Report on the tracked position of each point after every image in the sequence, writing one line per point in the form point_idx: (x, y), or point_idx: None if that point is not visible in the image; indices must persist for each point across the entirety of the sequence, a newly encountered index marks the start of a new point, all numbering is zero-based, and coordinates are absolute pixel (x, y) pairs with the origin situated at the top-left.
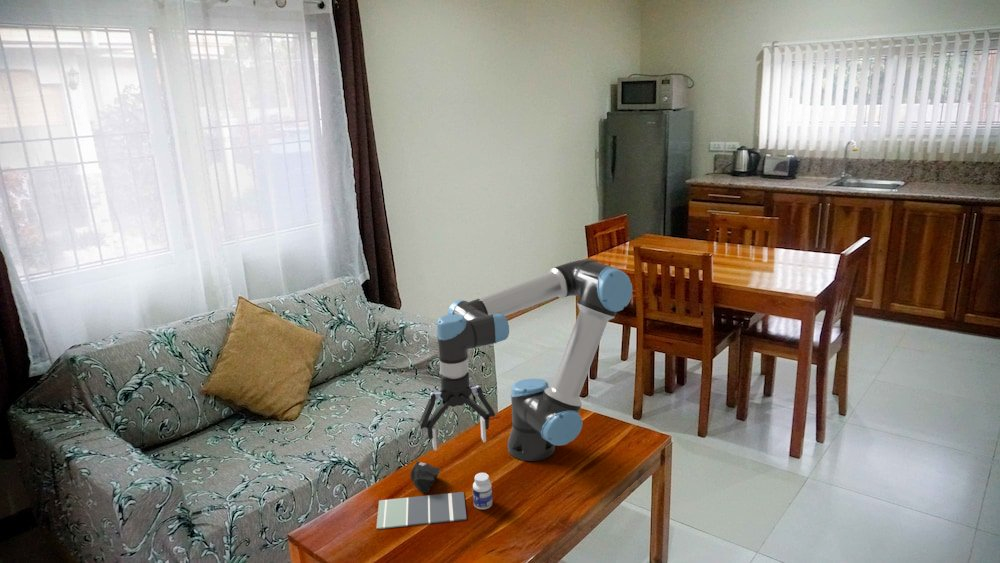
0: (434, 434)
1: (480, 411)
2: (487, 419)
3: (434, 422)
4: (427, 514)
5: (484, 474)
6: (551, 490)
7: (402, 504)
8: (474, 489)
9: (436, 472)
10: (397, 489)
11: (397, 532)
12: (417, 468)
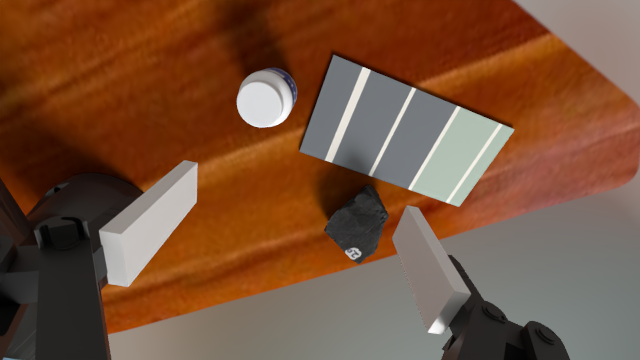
0: (444, 262)
1: (59, 310)
2: (62, 222)
3: (477, 337)
4: (403, 117)
5: (247, 111)
6: (94, 52)
7: (429, 174)
8: (291, 94)
9: (339, 216)
10: None
11: (485, 95)
12: (375, 240)
